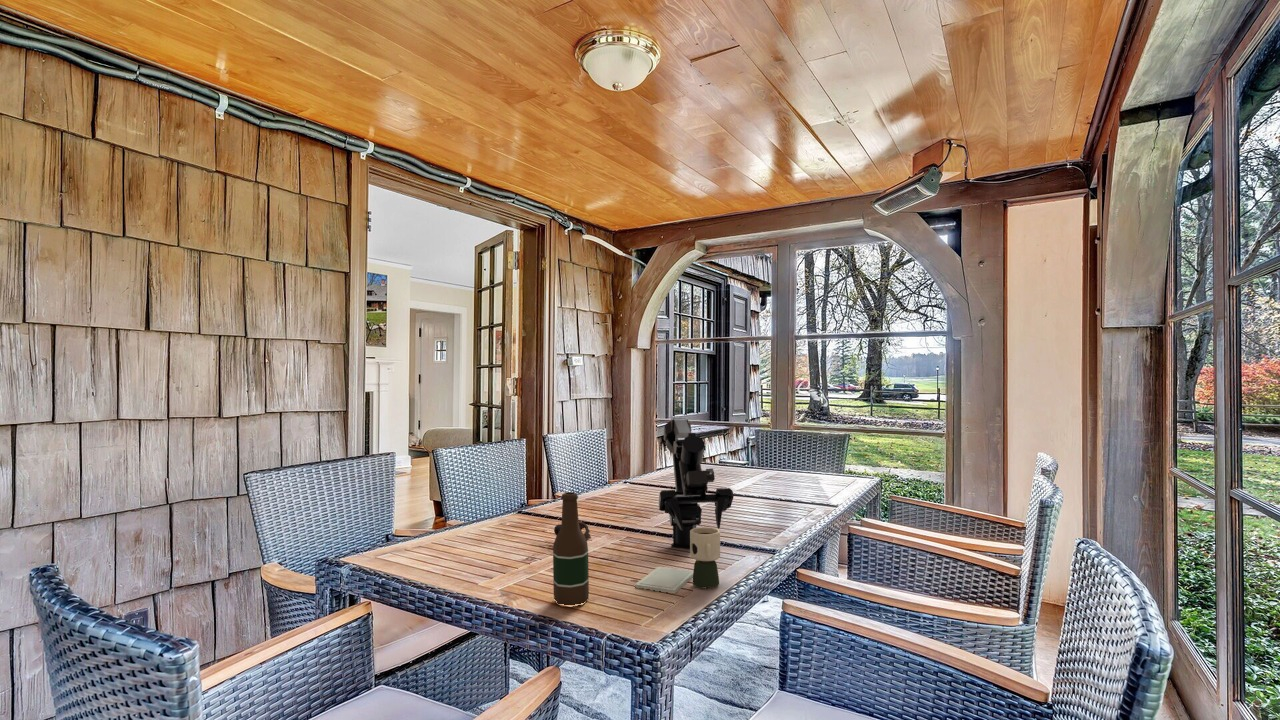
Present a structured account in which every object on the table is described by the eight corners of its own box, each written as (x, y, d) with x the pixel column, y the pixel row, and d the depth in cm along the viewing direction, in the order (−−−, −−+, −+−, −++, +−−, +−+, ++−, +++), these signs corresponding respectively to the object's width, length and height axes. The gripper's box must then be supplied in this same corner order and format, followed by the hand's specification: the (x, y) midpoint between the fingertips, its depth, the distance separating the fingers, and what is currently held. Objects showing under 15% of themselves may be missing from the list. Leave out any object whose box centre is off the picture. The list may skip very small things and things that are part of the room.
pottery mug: (595, 543, 179) (596, 523, 175) (581, 565, 171) (582, 545, 167) (560, 530, 182) (560, 510, 178) (544, 552, 175) (544, 531, 171)
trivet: (635, 587, 140) (635, 583, 140) (658, 569, 152) (658, 565, 152) (674, 593, 135) (674, 589, 135) (695, 574, 148) (695, 570, 148)
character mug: (688, 578, 145) (687, 525, 146) (717, 577, 146) (715, 524, 146) (694, 595, 134) (692, 537, 135) (725, 594, 135) (724, 536, 135)
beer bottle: (554, 596, 135) (553, 490, 136) (588, 594, 136) (587, 489, 137) (552, 609, 128) (550, 497, 128) (588, 607, 128) (587, 496, 129)
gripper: (659, 458, 151) (665, 512, 140) (731, 456, 152) (743, 509, 141) (656, 484, 158) (662, 536, 147) (724, 481, 160) (735, 533, 149)
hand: (700, 528), depth 146 cm, fingers open, 9 cm apart
